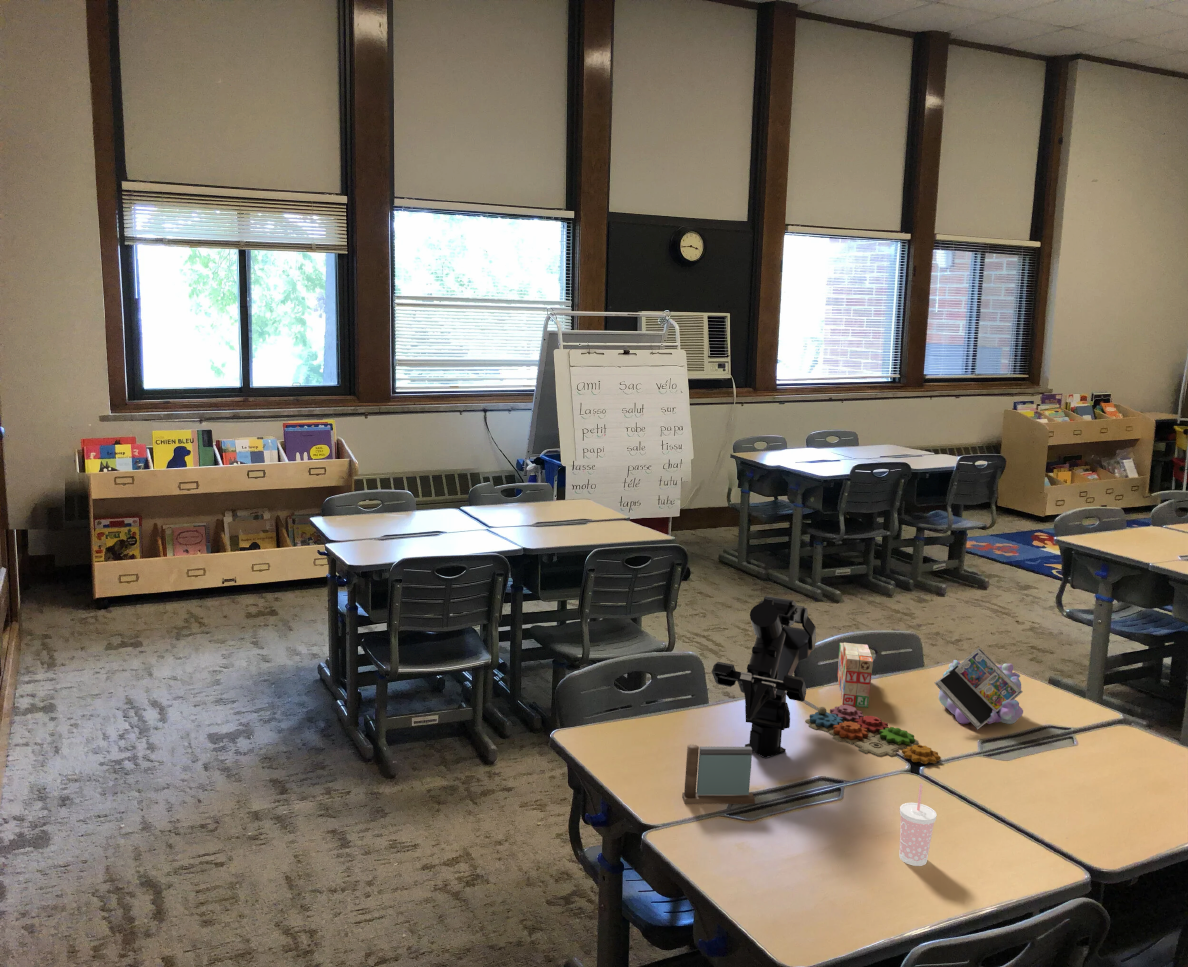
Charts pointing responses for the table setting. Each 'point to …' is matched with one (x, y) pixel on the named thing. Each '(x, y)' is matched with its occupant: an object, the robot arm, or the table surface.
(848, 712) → the gear puzzle
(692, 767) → the brown l-shaped piece
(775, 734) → the robot arm
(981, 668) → the bubbly comic picture frame
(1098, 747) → the table surface
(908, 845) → the beverage cup
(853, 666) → the stack of blocks
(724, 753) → the panel
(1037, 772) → the table surface
